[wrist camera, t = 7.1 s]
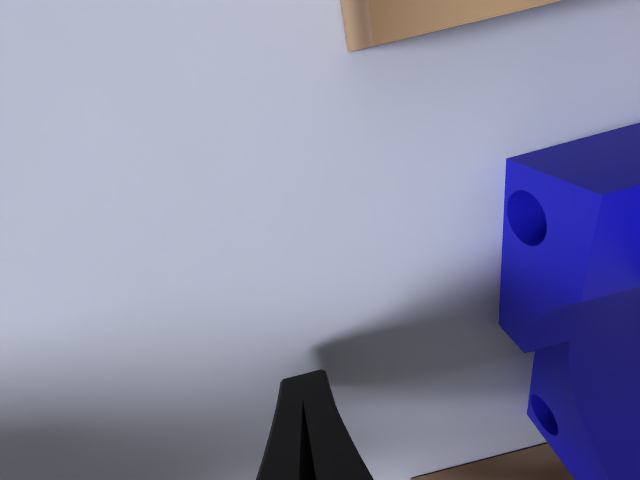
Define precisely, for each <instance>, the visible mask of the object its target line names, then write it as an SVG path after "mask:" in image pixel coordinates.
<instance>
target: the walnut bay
mask: <svg viewBox="0 0 640 480" xmlns="http://www.w3.org/2000/svg"><path fill="white" fill-rule="evenodd" d="M558 1H562V0H340V2H341V9H342V16H343V22H344V29H345V36H346V43H347V50H348V52H351V51H356V50H360V49H364V48H368V47H372V46H377V45H381V44H385V43H389V42H393V41H397V40H401V39H405V38H410V37H414V36H418V35H422V34H426V33H430V32H434V31H438V30H443V29H447V28H451V27H455V26H459V25H463V24H467V23H471V22H476V21H480V20H484V19H488V18H492V17H496V16H500V15H505V14H509V13H513V12H517V11H521V10H525V9H529V8H533V7H538V6H542V5H546V4H550V3H554V2H558ZM411 480H575V479H574V477H573V476H572V475H571V473H570V472H569V471H568V469H567V468H566V467H565V465H564V464H563V463H562V461H561V460H560V458H559V457H558V456H557V454H556V453H555V452H554V450H553V449H552V448H551V446H550V445H549V444H548V443H547V444H543V445H539V446H535V447H531V448H527V449H524V450H520V451H516V452H512V453H508V454H504V455H500V456H497V457H493V458H489V459H485V460H481V461H477V462H474V463H470V464H466V465H462V466H458V467H454V468H451V469H447V470H443V471H439V472H435V473H431V474H427V475H424V476H420V477H416V478H412V479H411Z"/></svg>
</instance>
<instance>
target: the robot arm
mask: <svg viewBox="0 0 640 480" xmlns="http://www.w3.org/2000/svg"><path fill="white" fill-rule="evenodd" d="M256 480H374V479H373V478H372V476H371V474H370V472H369V471H368V469H367V467H366V465H365V464H364V462H363V460H362V458H361V456H360V455H359V453H358V451H357V449H356V447H355V445H354V443H353V441H352V439H351V437H350V435H349V433H348V431H347V429H346V427H345V425H344V423H343V421H342V419H341V417H340V414H339V412H338V410H337V407H336V405H335V401H334V398H333V395H332V391H331V388H330V385H329V381H328V378H327V375H326V372H325V371H324V370H317V371H314V372H310V373H306V374H302V375H298V376H294V377H290V378H286V379H283V380H282V381H281V383H280V389H279V395H278V400H277V405H276V410H275V414H274V418H273V422H272V426H271V430H270V434H269V438H268V441H267V445H266V448H265V452H264V456H263V459H262V462H261V465H260V469H259V472H258V475H257V478H256Z"/></svg>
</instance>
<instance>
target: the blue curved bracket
mask: <svg viewBox="0 0 640 480" xmlns="http://www.w3.org/2000/svg"><path fill="white" fill-rule="evenodd" d="M499 325H500V326H501V327H502V329H503V330H504V331H505V332H506V333H507V334H508V335H509V336H510V338H511V339H512V340H513V341H514V342H515V343H516V344H517V345H518V347H519V348H520V349H521V350H522V351H523V352H524V353H527V352H530V351H534V350H535V355H534V362H533V370H532V378H531V386H530V394H529V402H528V409H527V415H528V416H529V418H530V419H531V420H532V422H533V423H534V425H535V426H536V427H537V429H538V430H539V431H540V433H541V434H542V435H543V437H544V438H545V439H546V441H547V442H548V444H549V445H550V446H551V448H552V449H553V450H554V452H555V453H556V454H557V456H558V457H559V458H560V460H561V461H562V463H563V464H564V465H565V467H566V468H567V469H568V471H569V472H570V473H571V475H572V476H573V477H574V479H575V480H640V123H637V124H633V125H629V126H626V127H622V128H618V129H615V130H611V131H607V132H604V133H600V134H596V135H592V136H589V137H585V138H581V139H578V140H574V141H570V142H567V143H563V144H559V145H555V146H552V147H548V148H544V149H541V150H537V151H533V152H530V153H526V154H522V155H518V156H515V157H511V158H507V159H506V178H505V199H504V221H503V242H502V263H501V285H500V306H499Z"/></svg>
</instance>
